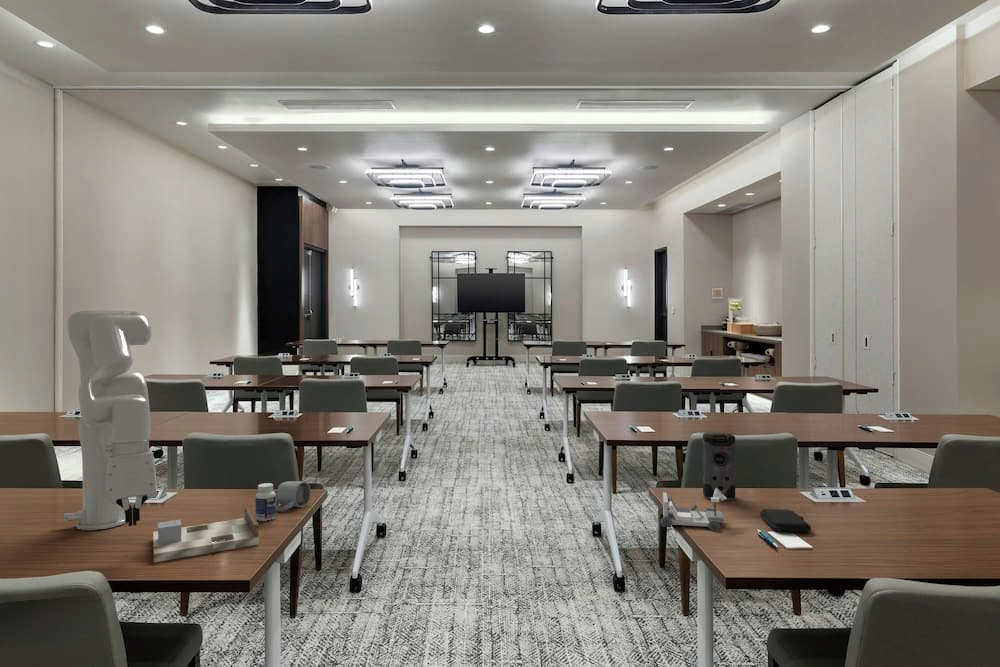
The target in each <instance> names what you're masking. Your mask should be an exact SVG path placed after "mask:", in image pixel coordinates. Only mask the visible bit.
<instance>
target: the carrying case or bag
mask: <svg viewBox="0 0 1000 667" xmlns="http://www.w3.org/2000/svg"><path fill="white" fill-rule="evenodd" d="M759 515H760V517H761V519H762V520H763V521H764V522H765V523H766V524H767V525H768V526H769V527H770V528H771V529H772V530H773V531H774V532H775V533H777V534H793V535H808V534H809V533H810V532H811V531H812V526H811V525H810V524H809V523H807V522H806V521H805V520H804V517H803V516H802V515H800V514H798V513H796V512H795V511H793V510H791V509H774V508H773V509H772V508H771V509H770V508H765V509H762V510H761V512H760V513H759Z"/></svg>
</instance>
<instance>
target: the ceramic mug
mask: <svg viewBox="0 0 1000 667" xmlns="http://www.w3.org/2000/svg"><path fill="white" fill-rule="evenodd" d="M275 494H276V512H278V511H281V512H280V513H282V511H283V512H285V511H288V510H289V509H291V508H292V507H293V508H300V507H301V508H304V507H306V506H307V505H308V504H309V502H310V500H311V494H312V490H311V486H310V484H309V483H308V482H307V481H302V480H300V481H297V480H296V481H288V480H287V481H284V482H282V483H280V484H279V485H278V487H277V488H276V491H275ZM278 505H281V506H280V507H278ZM301 508H300V509H301Z"/></svg>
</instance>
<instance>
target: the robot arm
mask: <svg viewBox="0 0 1000 667" xmlns="http://www.w3.org/2000/svg"><path fill="white" fill-rule="evenodd" d="M150 324H151V323H150V321H149V320H148V319H147V317H146V316H145V315H144V314H141V313H140V312H138V311H136V310H135V311H134V310H104V309H103V310H102V309H101V310H100V309H99V310H98V309H93V310H92V309H91V310H80V311H76V312H73V313H72V314H70V315H69V317H68V320H67V333H68V336H69V340H70V343H71V346H72V348H73V350H74V351H75V353H76V356H77V358H78V361H79V362H78V363H79V374H80V375H79V377H80V378H79V379H80V384H79V387H78V402H79V408H80V414H81V415H80V418H79V419H78V421H77V422H78V423H77V432H78V438H79V443H80V450H81V463H82V467H81V468H82V469H81V470H82V508H81V510H77V512H67V513H63V517H62V518H63V521H64V522H65V521H67V522H75V521H77V522H76V526H75V527H76V529H78V530H80V529H81V530H80V531H98V530H99V529H100V530H106V529H111V528H115V527H118V526H121V525H122V526H123V525H124V524H126V523H128V527H132V526H135V527H136V526H137V521H138V522H139V521H141V514H140V513H141V512H140V511H141V509H140V508H141V506H143V505H144V503H145V502H147V500H151V499H154V498H156V497H158V491H157V474H156V473H157V472H156V463H155V458H154V453H153V452H152V451H150V440H149V439H150V434H151V431H152V417H151V409H150V399H149V390H148V384H147V380H146V378H145V377H144V375H143V374H142V373H141V372H137V371H129V370H130V369H131V367H132V366H133V361H134V360H133V357H132V352H131V347H130V346H144V345H148V343H149V342H150V341H151V338H152V327H151V325H150ZM129 498H135V502H134V504H133V507H132V505H131V503H130V500H129Z"/></svg>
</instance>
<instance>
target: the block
mask: <svg viewBox="0 0 1000 667" xmlns="http://www.w3.org/2000/svg"><path fill="white" fill-rule="evenodd" d="M181 527H182V521H181V519H174V520H167V521H159V522H157V531H158V545H160V544H166V543H172V542H178V541H181Z"/></svg>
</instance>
